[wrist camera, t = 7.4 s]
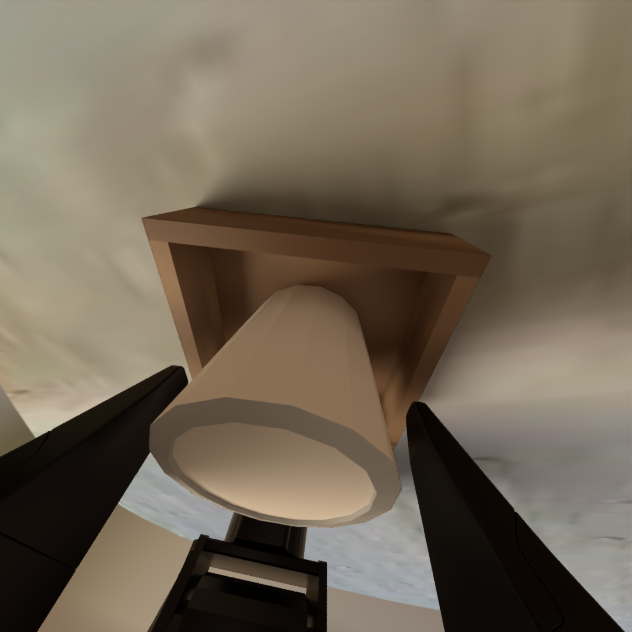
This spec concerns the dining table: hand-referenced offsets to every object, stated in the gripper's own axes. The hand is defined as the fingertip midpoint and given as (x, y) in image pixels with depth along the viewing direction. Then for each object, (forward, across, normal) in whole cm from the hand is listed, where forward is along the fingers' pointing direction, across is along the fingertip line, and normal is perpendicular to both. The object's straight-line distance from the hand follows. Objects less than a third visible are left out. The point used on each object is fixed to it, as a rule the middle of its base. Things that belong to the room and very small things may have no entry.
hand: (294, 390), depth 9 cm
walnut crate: (+4, 0, 0) cm, 4 cm away
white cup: (+4, 0, 0) cm, 4 cm away
